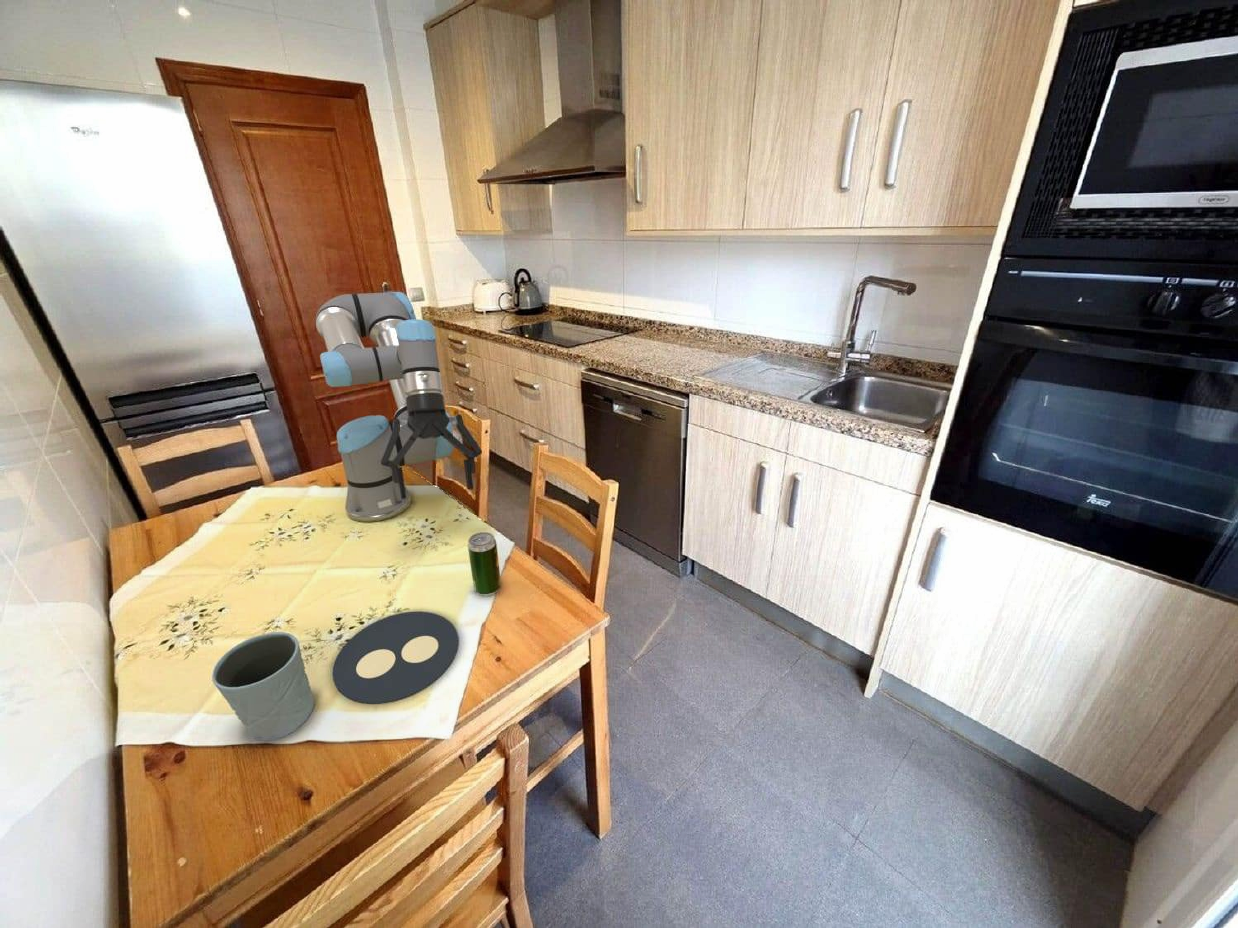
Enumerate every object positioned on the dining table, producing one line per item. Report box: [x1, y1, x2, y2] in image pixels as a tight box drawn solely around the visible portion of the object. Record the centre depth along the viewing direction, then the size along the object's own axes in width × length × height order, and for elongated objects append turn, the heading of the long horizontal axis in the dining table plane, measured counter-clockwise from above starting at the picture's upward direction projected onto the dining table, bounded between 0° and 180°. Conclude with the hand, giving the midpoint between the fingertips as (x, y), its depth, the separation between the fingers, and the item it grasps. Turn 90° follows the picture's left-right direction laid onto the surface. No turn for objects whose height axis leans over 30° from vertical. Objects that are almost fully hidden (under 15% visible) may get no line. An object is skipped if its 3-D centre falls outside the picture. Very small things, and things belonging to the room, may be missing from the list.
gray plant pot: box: [211, 631, 315, 742], centre depth 73 cm, size 10×10×12 cm
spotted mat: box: [332, 611, 459, 705], centre depth 86 cm, size 20×20×1 cm
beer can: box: [467, 531, 502, 597], centre depth 99 cm, size 5×5×12 cm
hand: (438, 493), depth 107 cm, fingers open, 13 cm apart
